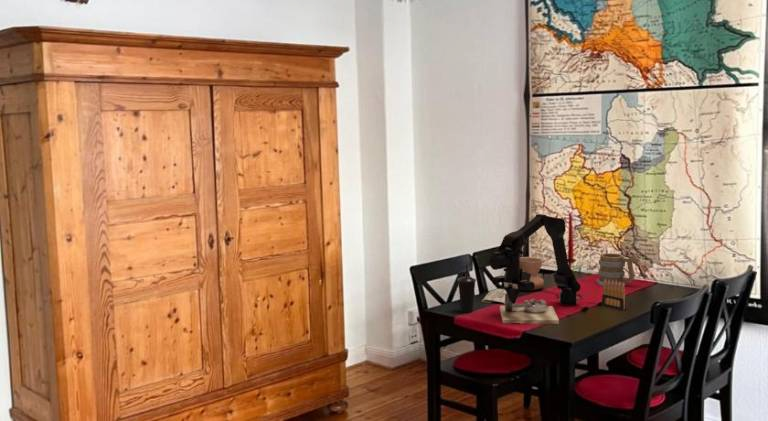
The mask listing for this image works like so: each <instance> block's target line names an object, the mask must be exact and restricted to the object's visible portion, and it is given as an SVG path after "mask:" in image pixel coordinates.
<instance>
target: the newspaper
mask: <svg viewBox="0 0 768 421" xmlns="http://www.w3.org/2000/svg"><path fill="white" fill-rule="evenodd" d="M505 293H507V292H506V291H505V289H504V288H495V289H494V290H490V291H488V293H487V294H486V295H485V297H484V298H483V299H481V303H488V304H493V302H497V303H502V304H504V305H505Z"/></svg>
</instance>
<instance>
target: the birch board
mask: <svg viewBox="0 0 768 421" xmlns="http://www.w3.org/2000/svg"><path fill="white" fill-rule="evenodd" d="M499 311H500V317H502V318H501V321H502V322H503V323H502V324H511V323H520V324H522V325H523V324H525V323H526V324H527V325H529V324H531V325H560V319H559V317H558V315H557V313H556V311H555V309H554V307H553V305H546V312H543V313H530V312H526V311H524V307H519V308H512V311H505V305H499ZM526 324H525V325H526Z"/></svg>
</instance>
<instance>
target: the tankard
mask: <svg viewBox="0 0 768 421" xmlns="http://www.w3.org/2000/svg"><path fill="white" fill-rule="evenodd" d="M599 256H600V257H599V258H600V259H598V265H599V269H598V275H599V278H597V279H596V283H597V285H599V286H601V287H602V286H603V287H604V280H605V278H606V281H607V284H608V280H610V288H611V282H612V280H613V281H614V287H615V281H617V285H618V284H619V281H620V282H621V287H622V283H623V282H624V285H625V286H626V285H627V284H628V283H629V284H630V283H632V282H633V281H634V279H635V271H634V267H633V262H634V261H635V263H639V261H640V258H639V257H637V256H635V255H633V256H632V257H628V258H626V257H625V256H624V255H623V254H620V253H613V252H612V253H602V254H600V255H599ZM626 263H627V269H628V270H627V271H628V273H629V274H628V278H627V277H626V276H625V275H626V272H625V270H624V267H625V266H626Z"/></svg>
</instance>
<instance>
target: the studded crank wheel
mask: <svg viewBox="0 0 768 421" xmlns="http://www.w3.org/2000/svg"><path fill="white" fill-rule="evenodd" d="M504 306H505V311H512V308H519V307H524V311H526V312H530V313H543V312H546V306H547V302H546V300H544V299H539V300H536V299H535V298H531V299H530V300H528V299H526V300H524V301H523V303H522V302H521V303H517V302H515V304H513V303H512V301H511V300H510V298H509V296H508V294H507V293H505V304H504Z"/></svg>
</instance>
